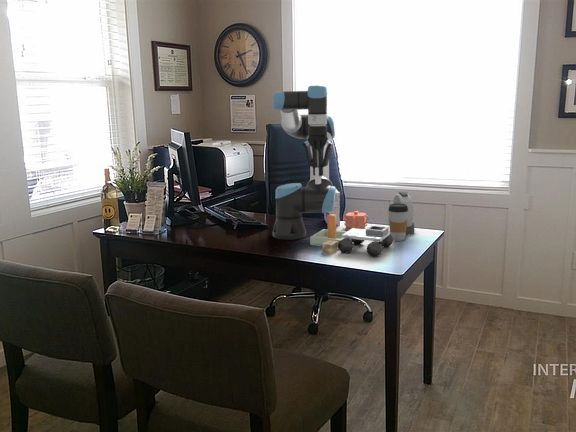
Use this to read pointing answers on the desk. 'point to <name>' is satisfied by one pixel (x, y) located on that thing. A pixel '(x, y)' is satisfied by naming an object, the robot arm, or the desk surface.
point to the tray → (325, 237)
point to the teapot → (355, 220)
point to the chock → (330, 247)
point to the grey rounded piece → (405, 199)
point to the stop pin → (331, 226)
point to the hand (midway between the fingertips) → (318, 183)
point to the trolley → (373, 233)
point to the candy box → (335, 209)
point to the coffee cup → (398, 221)
